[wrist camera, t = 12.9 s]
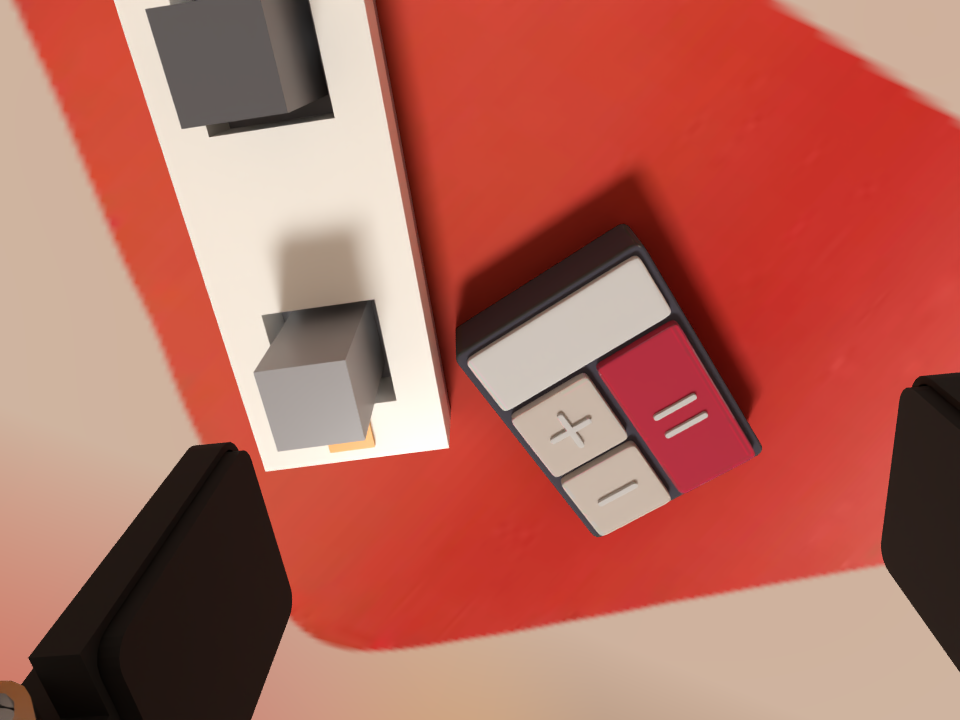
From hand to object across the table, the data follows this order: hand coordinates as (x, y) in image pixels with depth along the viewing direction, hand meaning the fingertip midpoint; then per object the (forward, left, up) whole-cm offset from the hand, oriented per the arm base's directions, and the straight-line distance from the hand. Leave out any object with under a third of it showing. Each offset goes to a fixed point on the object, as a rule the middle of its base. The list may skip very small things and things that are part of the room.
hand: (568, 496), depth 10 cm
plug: (+9, -7, -27) cm, 29 cm away
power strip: (+10, 0, -28) cm, 29 cm away
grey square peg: (+10, +7, -27) cm, 30 cm away
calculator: (-5, +13, -29) cm, 32 cm away
